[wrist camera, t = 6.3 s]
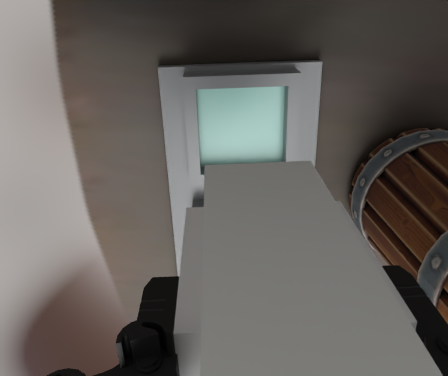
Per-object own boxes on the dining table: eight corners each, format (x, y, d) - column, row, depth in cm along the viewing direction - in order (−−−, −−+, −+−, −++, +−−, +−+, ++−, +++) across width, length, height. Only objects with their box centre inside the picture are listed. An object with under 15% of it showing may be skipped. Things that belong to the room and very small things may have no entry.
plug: (204, 165, 17) (195, 624, 5) (310, 160, 17) (581, 600, 5) (210, 267, 20) (213, 763, 7) (304, 262, 20) (476, 745, 7)
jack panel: (159, 65, 28) (154, 71, 26) (319, 59, 28) (328, 65, 26) (179, 278, 36) (177, 296, 34) (305, 272, 36) (311, 290, 34)
